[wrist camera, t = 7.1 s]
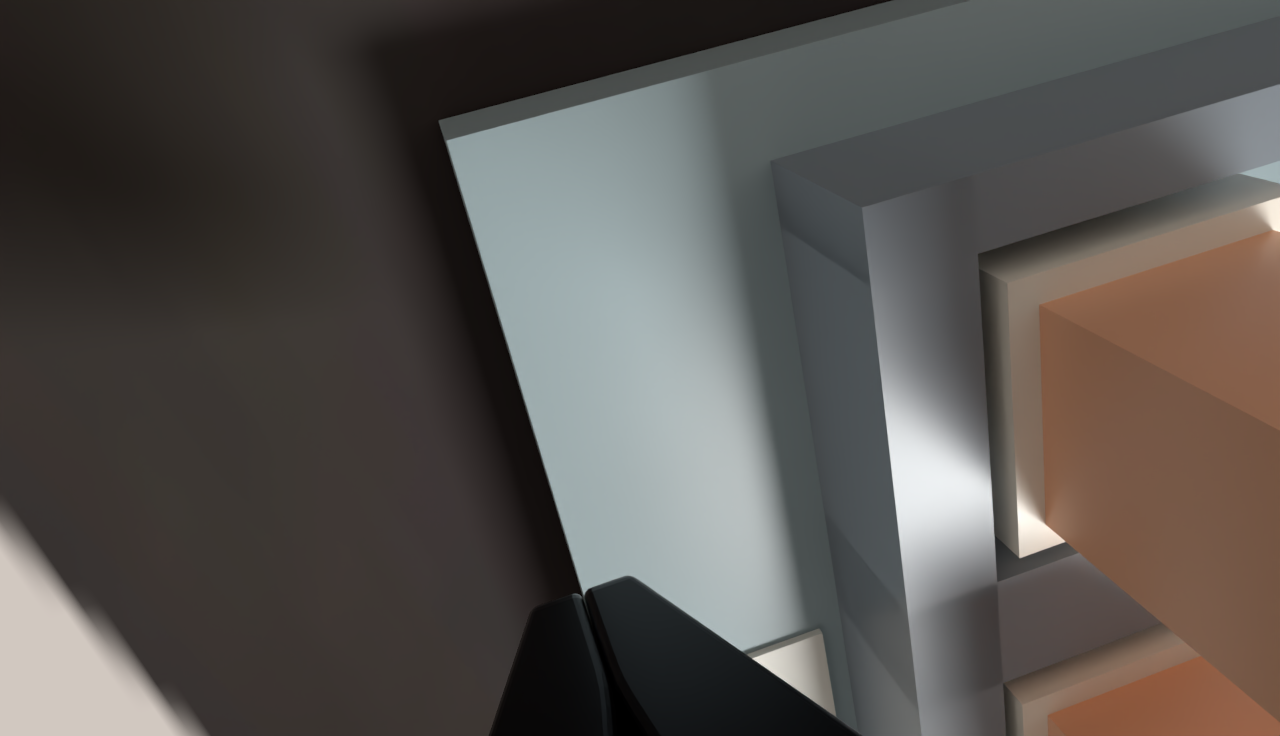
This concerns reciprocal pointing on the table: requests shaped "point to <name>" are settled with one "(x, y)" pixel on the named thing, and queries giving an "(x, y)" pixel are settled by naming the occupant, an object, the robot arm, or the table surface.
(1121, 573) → the tab
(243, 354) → the table surface
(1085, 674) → the tab
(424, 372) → the table surface
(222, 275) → the table surface
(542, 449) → the switch plate
